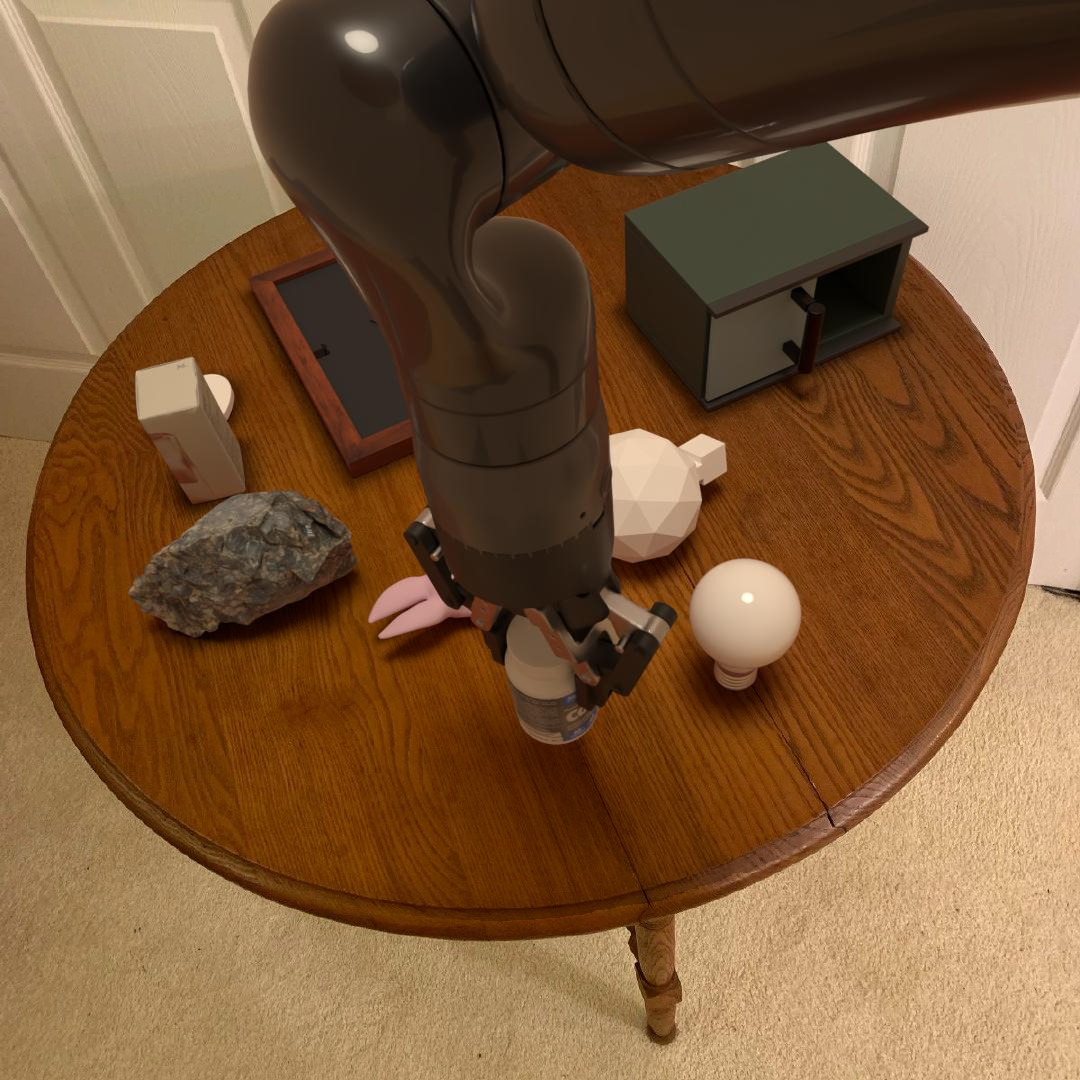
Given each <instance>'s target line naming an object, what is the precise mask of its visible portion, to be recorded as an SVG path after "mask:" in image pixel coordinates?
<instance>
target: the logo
mask: <svg viewBox="0 0 1080 1080" xmlns="http://www.w3.org/2000/svg"><path fill="white" fill-rule="evenodd" d="M203 376H204V378H205V380H206V382H207V384H208V386H209V388H210V390H211V392H212V393H213V395H214V397H215V399H216V401H217V403H218V405H219V407H220V409H221V411H222V413H223V415H224V416H225V418H226V420H227V421H228V420H229V418H230V416H231V413H232V411H233V409H234V403H235V393H234V389H233V388H232V385H231V384H230V382H229V380H228V379H227V378H226V377H225V376H223V375H220V374H216V373H209V374H203Z"/></svg>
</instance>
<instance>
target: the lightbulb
mask: <svg viewBox="0 0 1080 1080" xmlns="http://www.w3.org/2000/svg"><path fill="white" fill-rule="evenodd" d="M688 619H689V625H690V628H691V632H692V635H693V637H694V638H695V641H696V642H697V644H698V646H699V647H700V648H701V650H703V651H704V653H705V654H706V655H708V656H709V657H710V658H711V659H713V660H714V664H713V674H714V678H715V680H716V681H717V683H718V684H719V685H720V686H721V687H723V688H725V689H727V690H730V691H734V692H735V691H737V692H738V691H739V692H740V691H744V690H746V689H748V688H750V687H751V686H752V685H753V684H754V683H755V681H756V679H757V675H758V670H759V668H762V667H765V666H768V665H771V664H773V663H774V662H776V661H777V660H779V659H780V658H781V657H783V656H784V655H785V654H786V653H787V652H788V651H789V649H791V647H792V646H793V645H794V643H795V641H796V639H797V637H798V635H799V632H800V629H801V625H802V604H801V599H800V597H799V594H798V591H797V590H796V588H795V586H794V584H793V583H792V581H791V580H790V579H789V578H788V577H787V576H786V575H785V573H783V572H782V571H781V570H780V569H779V568H777V567H776V566H774V565H772V564H770V563H769V562H765V561H763V560H759V559H756V558H749V557H748V558H744V557H743V558H742V557H741V558H734V559H729V560H726V561H723V562H721V563H719V564H717V565H715V566H714V567H711V568H710V569H709V570H708V571H707V572H706V573H705V574H704V575H702V577H701V578H700V580H699V581H698V582H697V584H696V585H695V587H694V589H693V591H692V593H691V597H690V600H689V606H688Z"/></svg>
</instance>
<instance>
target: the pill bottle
mask: <svg viewBox="0 0 1080 1080" xmlns="http://www.w3.org/2000/svg"><path fill="white" fill-rule="evenodd" d="M504 668H505V673H506V677H507V681H508V683H509V689H510V692H511V697H512V700H513V705H514V709H515V713H516V717H517V719H518V722H519V724H520V726H521V727H522V729H523V730H524V732H525V733H526V734H528V735H529V736H530V737H531V738H532V739H534V740H537V741H539V742H540V743H543V744H549V745H565V744H569V743H572V742H574V741H576V740H578V739H580V738H582V737H583V736H584V735H585V734H587V733H588V731H589V730H590V729H591V727H592V726H593V724H594V722H595V721H596V718H597V716H598V712H599V706H597V705H596V706H595V707H594V709H593V710H592V711H588V710H586V709H584V708H582V707H580V706H578V702H577V695H576V688H575V680H574V675H575V671H574V669H573V667H572V666H571V664H570V662H569V661H567V660H564V659H561V658H558V657H556V656H555V654H554V652H553V651H552V649H551V647H550V646H549V644H548V642H547V640H546V639H545V637H544V635H543V634H542V632H541V630H540V629H539V627H537V626H534V625H532V624H531V622H530V621H529V619H528V618H525V617H523V616H520V615H516V616H515V617H514V618H513V620H512V621H511V623H510V625H509V628H508V631H507V649H506V653H505V666H504Z"/></svg>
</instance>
